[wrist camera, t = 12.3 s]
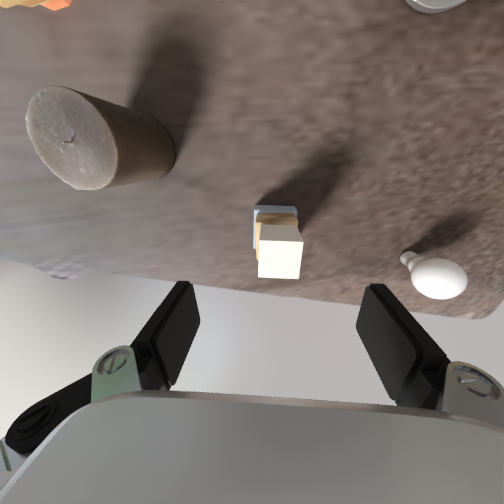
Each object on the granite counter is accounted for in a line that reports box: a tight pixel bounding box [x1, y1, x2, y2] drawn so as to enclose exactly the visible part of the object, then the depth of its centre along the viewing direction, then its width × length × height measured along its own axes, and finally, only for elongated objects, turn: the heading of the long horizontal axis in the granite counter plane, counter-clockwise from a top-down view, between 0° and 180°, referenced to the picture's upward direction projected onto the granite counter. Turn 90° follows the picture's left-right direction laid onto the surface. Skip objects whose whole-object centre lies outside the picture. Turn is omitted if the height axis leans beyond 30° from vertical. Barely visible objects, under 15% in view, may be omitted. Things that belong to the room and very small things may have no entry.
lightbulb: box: [400, 251, 468, 299], centre depth 32 cm, size 6×6×11 cm
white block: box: [258, 224, 303, 279], centre depth 26 cm, size 5×5×6 cm
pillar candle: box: [25, 86, 175, 190], centre depth 26 cm, size 10×10×15 cm
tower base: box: [253, 205, 297, 249], centre depth 35 cm, size 7×7×4 cm
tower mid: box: [255, 212, 298, 260], centre depth 31 cm, size 6×6×5 cm
